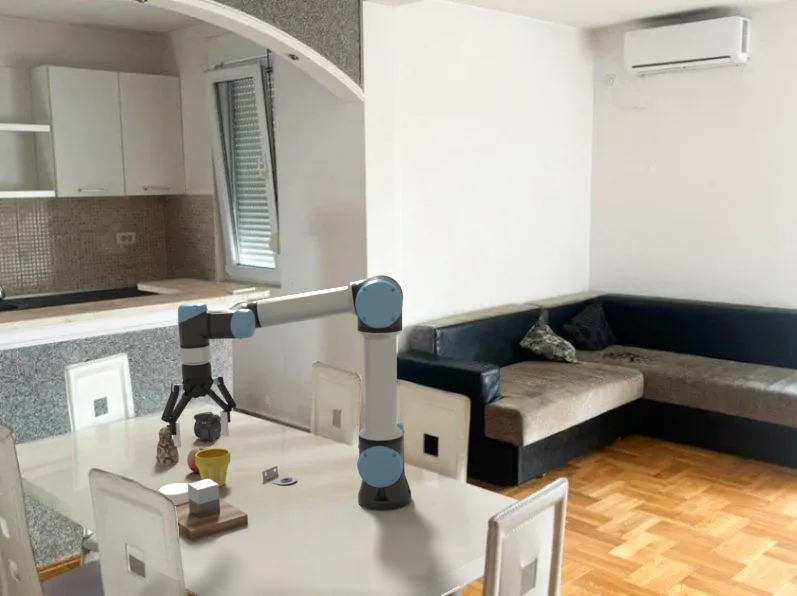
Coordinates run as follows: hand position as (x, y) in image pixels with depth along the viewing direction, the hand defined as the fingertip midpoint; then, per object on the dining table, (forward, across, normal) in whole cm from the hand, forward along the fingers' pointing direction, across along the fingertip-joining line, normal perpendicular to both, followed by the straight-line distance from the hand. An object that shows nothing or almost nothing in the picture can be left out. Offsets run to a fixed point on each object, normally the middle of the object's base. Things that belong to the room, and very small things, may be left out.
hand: (201, 440), depth 214 cm
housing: (+20, 0, 0) cm, 20 cm away
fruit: (+22, -16, -38) cm, 48 cm away
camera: (+22, -35, -71) cm, 82 cm away
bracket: (+23, -31, -14) cm, 42 cm away
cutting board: (+22, +1, 0) cm, 22 cm away
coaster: (+23, 0, -22) cm, 31 cm away
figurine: (+22, -12, -56) cm, 61 cm away
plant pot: (+23, -14, -26) cm, 37 cm away
